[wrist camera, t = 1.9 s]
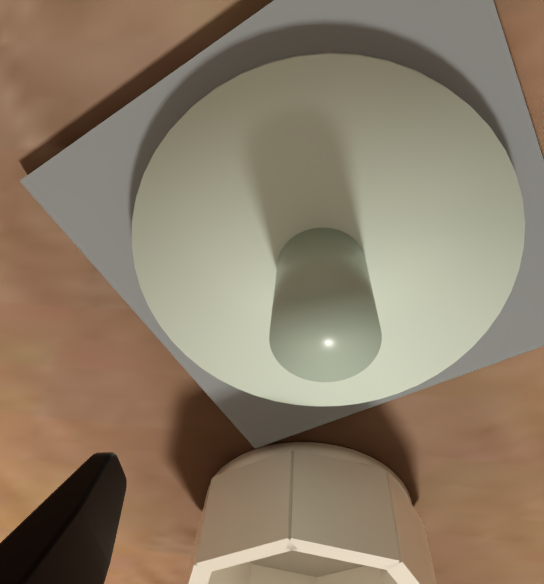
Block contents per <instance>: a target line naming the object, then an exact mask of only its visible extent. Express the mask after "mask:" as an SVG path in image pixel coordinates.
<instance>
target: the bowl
mask: <svg viewBox="0 0 544 584" xmlns="http://www.w3.org/2000/svg"><path fill="white" fill-rule="evenodd" d="M186 584H437V582H436V577H435V573H434V568H433V564H432V559H431V554H430V550H429V545H428V540H427V536H426V531H425V526H424V522H423V520H422V519H421V518H420V516H419V515H418V513H417V512H416V511H415V509H414V508H413V506H412V502H411V498H410V495H409V492H408V490H407V488H406V487H405V485H404V483H403V482H402V481H401V479H400V478H399V477H398V476H397V475H396V474H395V473H394V472H393V471H392V470H391V469H389V468H388V467H387V466H385V465H384V464H382V463H381V462H379V461H378V460H376V459H374V458H372V457H370V456H368V455H366V454H363V453H361V452H358V451H355V450H353V449H349V448H345V447H342V446H337V445H332V444H326V443H316V442H289V443H279V444H274V445H268V446H264V447H261V448H257V449H254V450H251V451H249V452H246V453H244V454H242V455H240V456H238V457H236V458H235V459H233V460H231V461H230V462H228V463H227V464H226V465H225V466H223V467H222V468H221V469H220V470H219V471H218V472H217V473H216V475H215V476H213V478H212V479H211V482H210V485H209V487H208V490H207V494H206V499H205V504H204V507H203V511H202V514H201V518H200V522H199V525H198V529H197V534H196V538H195V543H194V548H193V553H192V557H191V562H190V567H189V571H188V576H187V581H186Z"/></svg>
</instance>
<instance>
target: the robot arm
mask: <svg viewBox="0 0 544 584" xmlns="http://www.w3.org/2000/svg"><path fill="white" fill-rule="evenodd" d="M125 492H126V477H125V474H124V472H123V469H122V467H121V464H120V462H119V460H118V457H117V455H116V454H114V453H112V452H107V453H95V454H94V455H92V456H91V457H90V458H89V459H88V460H87V461H86V462H85V463H84V464H82V465H81V466H80V467H79V468H78V469H77V470H76V471H75V472H74V473H73V474H72V475H71V476H70V477H69V478H68V479H67V480H66V481H65V482H64V483H63V484H62V485H61V486H59V487H58V488H57V489H56V490H55V491H54V492H53V493H52V494H51V495H50V496H49V497H48V498H47V499H46V500H45V501H44V502H43V503H42V504H41V505H40V506H39V507H38V508H36V509H35V510H34V511H33V512H32V513H31V514H30V515H29V516H28V517H27V518H26V519H25V520H24V521H23V522H22V523H21V524H20V525H19V526H18V527H17V528H16V529H15V530H13V531H12V532H11V533H10V534H9V535H8V536H7V537H6V538H5V539H4V540H3V541H2V542H1V543H0V584H104V581H105V578H106V575H107V571H108V568H109V565H110V561H111V556H112V552H113V548H114V543H115V538H116V534H117V529H118V524H119V520H120V515H121V510H122V506H123V501H124V496H125Z"/></svg>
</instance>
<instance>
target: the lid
mask: <svg viewBox="0 0 544 584" xmlns="http://www.w3.org/2000/svg"><path fill="white" fill-rule="evenodd" d="M524 236H525V216H524V206H523V198H522V194H521V190H520V186H519V183H518V179H517V175H516V172H515V170H514V168H513V166H512V163H511V161H510V159H509V157H508V155H507V152H506V150H505V149H504V147H503V146H502V144H501V143H500V141H499V140H498V138H497V137H496V135H495V134H494V132H493V131H492V129H491V128H490V126H489V125H488V124H487V123H486V122H485V121H484V120H483V119H482V118H481V117H480V116H479V115H478V113H477V112H476V111H475V110H474V109H473V108H472V107H471V106H470V105H469V104H467V103H466V102H465V101H463V100H462V99H461V98H459V97H458V96H457V95H456V94H454V93H453V92H452V91H450V90H449V89H448V88H446V87H445V86H443V85H442V84H440V83H438V82H436V81H435V80H433V79H431V78H429V77H427V76H425V75H424V74H422V73H420V72H418V71H416V70H414V69H411V68H409V67H406V66H403V65H400V64H398V63H395V62H392V61H389V60H386V59H381V58H376V57H371V56H366V55H361V54H350V53H331V52H326V53H315V54H304V55H296V56H292V57H288V58H284V59H280V60H275V61H271V62H268V63H265V64H263V65H260V66H258V67H255V68H253V69H250V70H248V71H245V72H243V73H240V74H239V75H237V76H235V77H234V78H232V79H230V80H228V81H227V82H225V83H223V84H221V85H220V86H218V87H216V88H215V89H214V90H212V91H211V92H210V93H209V94H207V95H206V96H205V97H204V98H202V99H201V100H200V101H199V102H197V103H196V104H195V105H194V106H193V107H191V108H190V109H189V110H188V111H187V112H186V114H185V115H184V116H183V117H182V118H181V119H180V120H179V121H178V122H177V123H176V124H175V125H174V126H173V127H172V128H171V129H170V131H169V132H168V133H167V135H166V136H165V138H164V139H163V141H162V142H161V143H160V145H159V146H158V148H157V149H156V151H155V152H154V154H153V156H152V158H151V160H150V162H149V164H148V166H147V168H146V170H145V172H144V174H143V177H142V180H141V183H140V187H139V190H138V193H137V196H136V200H135V206H134V212H133V218H132V252H133V259H134V267H135V270H136V274H137V278H138V281H139V285H140V288H141V290H142V293H143V295H144V297H145V300H146V302H147V304H148V307H149V308H150V310H151V312H152V313H153V315H154V317H155V319H156V320H157V322H158V324H159V325H160V326H161V328H162V329H163V330H164V332H165V333H166V334H167V336H168V337H169V338H170V339H171V341H172V342H173V343H174V344H175V345H176V346H177V347H178V348H179V349H180V350H181V351H182V352H183V353H184V354H185V355H186V356H187V357H188V358H190V359H191V360H192V361H193V362H195V363H196V364H197V365H198V366H199V367H201V368H202V369H204V370H205V371H207V372H208V373H210V374H211V375H213V376H214V377H216V378H217V379H219V380H221V381H223V382H225V383H227V384H229V385H231V386H233V387H235V388H237V389H239V390H242V391H245V392H247V393H250V394H252V395H255V396H258V397H262V398H265V399H269V400H273V401H277V402H282V403H288V404H294V405H304V406H343V405H352V404H359V403H364V402H369V401H374V400H379V399H382V398H385V397H388V396H391V395H395V394H398V393H401V392H403V391H405V390H408V389H410V388H412V387H415V386H417V385H419V384H421V383H423V382H425V381H427V380H428V379H430V378H432V377H434V376H436V375H437V374H439V373H440V372H442V371H443V370H445V369H446V368H448V367H449V366H450V365H452V364H453V363H455V362H456V361H457V360H458V359H460V358H461V357H462V356H463V355H464V354H465V353H466V352H468V351H469V350H470V349H471V348H472V347H473V346H474V345H475V344H476V343H477V342H478V341H479V339H480V338H481V337H482V336H483V335H484V334H485V333H486V332H487V331H488V329H489V328H490V326H491V325H492V323H493V322H494V321H495V319H496V318H497V316H498V315H499V314H500V312H501V310H502V308H503V306H504V304H505V303H506V301H507V299H508V297H509V295H510V293H511V291H512V288H513V285H514V283H515V280H516V277H517V274H518V272H519V268H520V263H521V258H522V254H523V249H524Z"/></svg>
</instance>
